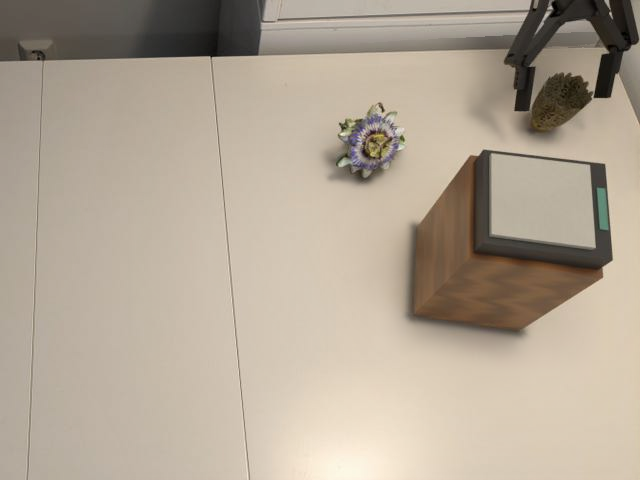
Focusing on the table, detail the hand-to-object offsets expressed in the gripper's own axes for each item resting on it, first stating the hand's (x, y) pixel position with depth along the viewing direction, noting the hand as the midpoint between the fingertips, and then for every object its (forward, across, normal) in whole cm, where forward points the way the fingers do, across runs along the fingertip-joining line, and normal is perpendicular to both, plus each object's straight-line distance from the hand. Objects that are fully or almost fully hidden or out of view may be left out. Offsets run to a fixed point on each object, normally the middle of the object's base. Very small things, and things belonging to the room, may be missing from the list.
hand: (561, 104), depth 91 cm
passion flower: (+4, +32, -5) cm, 32 cm away
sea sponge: (+4, 0, -5) cm, 6 cm away
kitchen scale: (+9, +22, +26) cm, 36 cm away
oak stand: (+22, +22, +14) cm, 34 cm away
